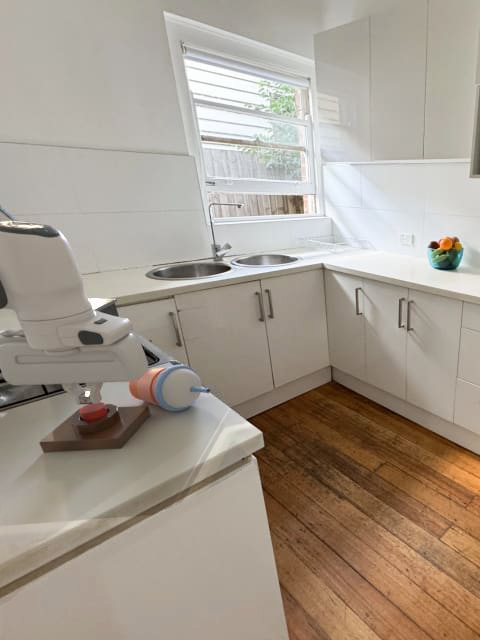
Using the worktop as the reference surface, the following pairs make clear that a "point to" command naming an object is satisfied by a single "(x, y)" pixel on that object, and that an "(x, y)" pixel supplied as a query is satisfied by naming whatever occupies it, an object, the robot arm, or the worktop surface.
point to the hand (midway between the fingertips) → (90, 402)
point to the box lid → (101, 303)
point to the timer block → (96, 430)
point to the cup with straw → (168, 387)
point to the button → (93, 411)
